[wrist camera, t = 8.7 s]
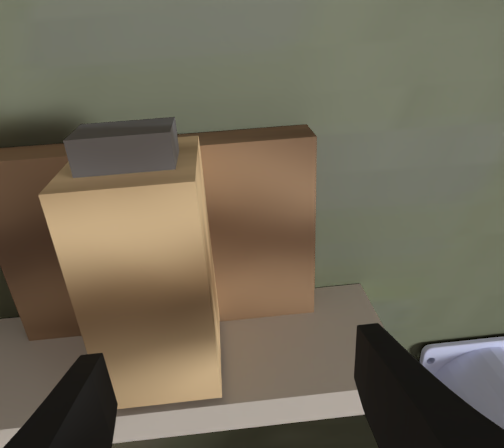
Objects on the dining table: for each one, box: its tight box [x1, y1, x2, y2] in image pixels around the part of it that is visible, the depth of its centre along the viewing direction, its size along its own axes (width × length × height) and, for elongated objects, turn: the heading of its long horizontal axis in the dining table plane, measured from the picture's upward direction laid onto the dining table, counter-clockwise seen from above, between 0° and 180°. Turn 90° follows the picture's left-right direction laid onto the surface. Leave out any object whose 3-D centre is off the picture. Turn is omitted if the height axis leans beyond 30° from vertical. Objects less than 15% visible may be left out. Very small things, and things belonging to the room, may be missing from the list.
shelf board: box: [0, 284, 385, 448], centre depth 20 cm, size 2×20×7 cm, turn 93°
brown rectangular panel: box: [0, 124, 317, 341], centre depth 20 cm, size 9×14×2 cm, turn 93°
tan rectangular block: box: [38, 117, 222, 409], centre depth 16 cm, size 10×4×5 cm, turn 3°
